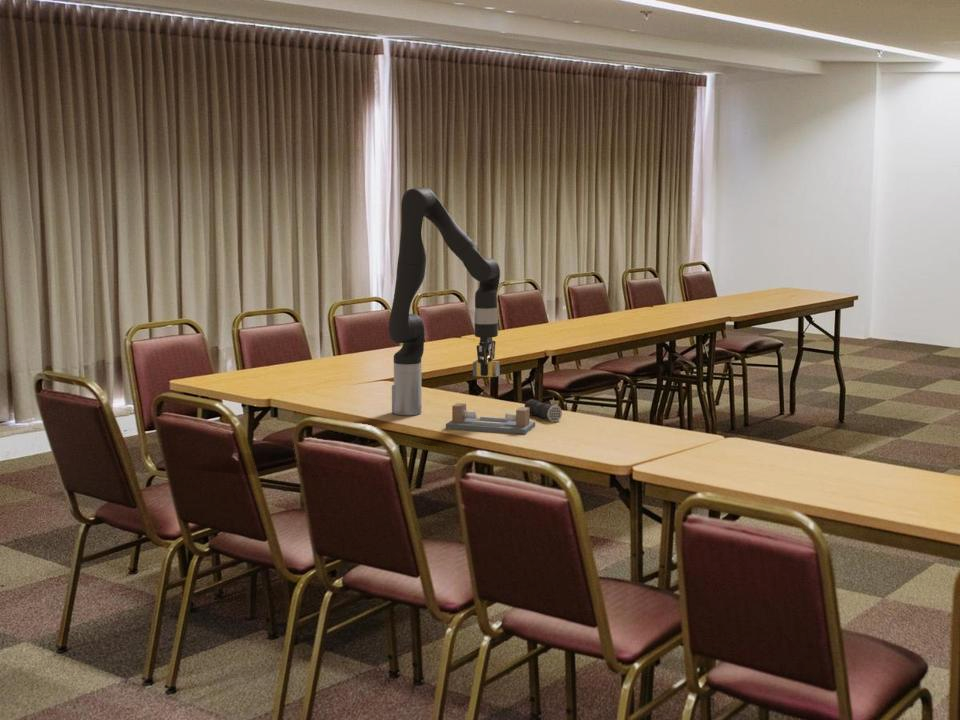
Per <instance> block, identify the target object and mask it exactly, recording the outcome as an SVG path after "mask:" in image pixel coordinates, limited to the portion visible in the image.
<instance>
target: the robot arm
mask: <svg viewBox="0 0 960 720" xmlns="http://www.w3.org/2000/svg"><path fill="white" fill-rule="evenodd" d="M400 204H401V205H400V209H401V210H400V218H401V219H400V226H401V228H400V237H399V238H400V239H399V248H398V250H399V251H398V257H397V265H396V278H395V284H394V285H395V286H394V295H393V300H392V306H391V310H390V315H389V318H388V319H389V320H388V327H387V329H388V336H389V338H390V340H391V341H392V342H393V343H396V344H402V345H401V348H400V349H399V350H398V351H396V352H395V353H394V355H393V384H392V385H391V414H392V413H394V415H397V416H398V415H399V416H416V415H420V414H422V400H423V399H422V358H423V355H424V352H425V351H424V349H425V347H424V346H425V325H424V321H423V319H422V317H421V316H420V315H418V314H415V313H410V310H411V307H412V302H413V300H414V298H415V295H416V294H417V292H418V291H419V290H420V287H421V286H422V283H423V281H424V279H425V275H426V266H427V255H426V250H425V246H424V242H423V237H422V236H423V235H422V230H423V229H422V228H423V221H424V217H425V218H426V219H427V220H429V221H430V222H431V223H433V225H434V226H435V227H436V229H437V230H438V231H439V233H440V235H441V237H442V239H443V241H444V243H445V244H446V246H447V248H449V249H450V251H451V252H453V254H454V255H455V256H456V257H457V258H458V259H459V260H460V261H461V262H462V264H463V266H464V267H465V269H466V271H467V272H468V273H469V275H470V276H471V277H472V278H473V279H474V280H475V281H477V282H479V283H478V284H479V286H478V289H477V290H476V291H475V293H474V313H473V314H474V315H473V317H474V319H473V321H474V322H473V323H474V324H473V327H474V328H473V329H474V331H473V332H474V337H476V338H479V343H478V344H477V345H476V354H477V360H478V363H480V364H481V376H487V375H488V361H494V359H495V358H496V357H495V355H496V354H495V353H496V341H495V340H493V338H496V337H498V335H499V319H498V318H499V315H498V297H497V295H498V290H499V285H500V284H499V283H500V278H501V269H500V266H499V263H498V262H497V261H496V260H495V259H493V258H484V257H483V256H482V255H481V254H480V252H479V251H480V249H479V247H478V245H477V244H476V243H475V242H474V240H473V239H472V238H470V237H469V236H468V234H467V233H466V232H465V231H464V230H463V229H462V228H461V227H460V226H459V225H458V224H457V223H456V221H455V220H454V219H453V217H452V216H451V215H450V214H449V212H448V211H447V209H446V208H445V206H444V205H443V204H442V202H441V201H440V199H439V198H438V196H437V195H436V194H435V192H434V191H433V190H431V188H427V187H416V188H410V189H407V190H406V191H405V192H404V193H403V195H402V199H401V203H400ZM481 376H480V377H481Z"/></svg>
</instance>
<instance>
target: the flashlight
mask: <svg viewBox="0 0 960 720" xmlns="http://www.w3.org/2000/svg"><path fill="white" fill-rule="evenodd" d="M524 407H528V408H530V415H531V416H539V417H540V418H542V419H545V420H546V421H549V422H554V421H555V422H558V421H560V420H561V418H562V415H563V410H562V408H561V406H559V405H556V404H554V403H553V404H552V403H542V402H541V401H539V400H536V399H533V398H532V399H529V400H527V401H526V402H525V403H524Z"/></svg>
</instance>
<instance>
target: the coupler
mask: <svg viewBox="0 0 960 720" xmlns="http://www.w3.org/2000/svg"><path fill="white" fill-rule="evenodd" d="M500 369H501V367H500V360H493V361H488V375H487V376H481V364H480V363H478V359H477V360H475V361H473V362H472V377H485V378H486V377H487V378H497V377H499V376H500V375H501V374H500V373H501V372H500V371H501V370H500Z"/></svg>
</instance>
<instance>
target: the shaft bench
mask: <svg viewBox="0 0 960 720" xmlns="http://www.w3.org/2000/svg"><path fill="white" fill-rule="evenodd" d="M451 407H452V408H451V411H452V412H451V415H452V417H451V418H452V419H451V420H449V421H448V422H447V423H445V429H446V428H451V429H450V430H458V429H461V430H462V431H473V432H474V431H475V432H489V433H490V432H491V433H501V432H506V433H505V434H515V433H523V434H522V435H527V434H528V433H529V432H530V431H531V430H533V429H534V428H535V427H536V421H530V418H531V417H530V408H528V407H525V406H520V407H519V408H516V411H515V413H511V412H506V413H505V414H504V417H500V416H499V417H495V416H485V415H481V416H480V417H478V413H477V411H476V410H467V403H462V402H457V403H455V404H453V405H452V406H451ZM532 428H533V429H532ZM528 431H529V432H528ZM527 432H528V433H527Z"/></svg>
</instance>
